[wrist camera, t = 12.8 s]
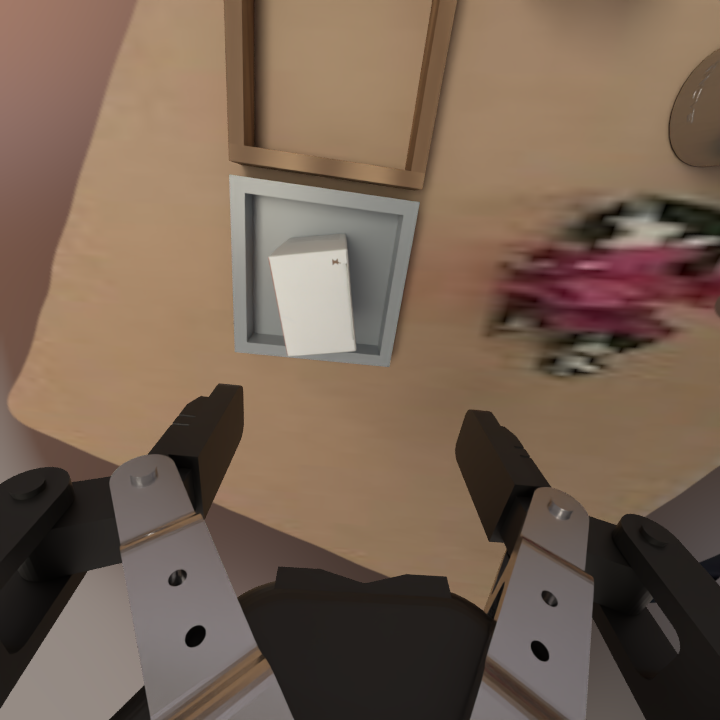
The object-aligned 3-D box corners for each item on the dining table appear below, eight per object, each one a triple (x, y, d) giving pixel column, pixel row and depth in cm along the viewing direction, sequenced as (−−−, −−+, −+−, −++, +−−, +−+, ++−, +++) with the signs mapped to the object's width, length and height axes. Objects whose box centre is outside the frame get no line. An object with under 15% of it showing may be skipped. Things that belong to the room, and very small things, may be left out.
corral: (456, -49, 25) (472, -85, 22) (414, 190, 32) (422, 189, 29) (235, -97, 24) (219, -143, 20) (240, 164, 30) (228, 160, 27)
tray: (412, 201, 32) (419, 202, 29) (385, 353, 39) (389, 366, 36) (241, 177, 31) (229, 174, 28) (244, 339, 38) (234, 351, 34)
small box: (288, 237, 32) (265, 252, 23) (346, 232, 32) (347, 245, 23) (300, 316, 36) (285, 359, 26) (353, 312, 36) (356, 352, 26)
